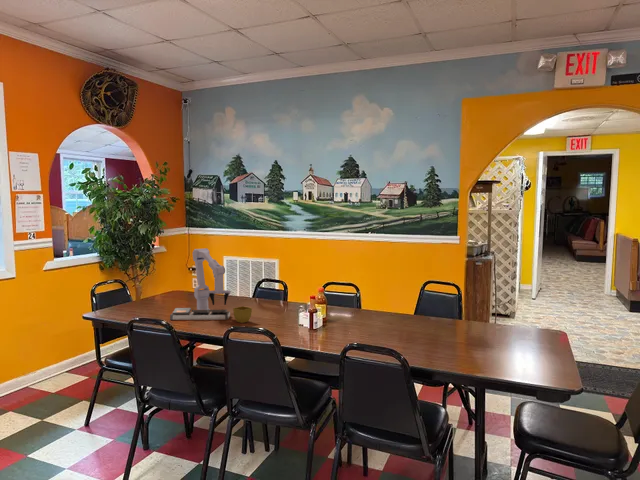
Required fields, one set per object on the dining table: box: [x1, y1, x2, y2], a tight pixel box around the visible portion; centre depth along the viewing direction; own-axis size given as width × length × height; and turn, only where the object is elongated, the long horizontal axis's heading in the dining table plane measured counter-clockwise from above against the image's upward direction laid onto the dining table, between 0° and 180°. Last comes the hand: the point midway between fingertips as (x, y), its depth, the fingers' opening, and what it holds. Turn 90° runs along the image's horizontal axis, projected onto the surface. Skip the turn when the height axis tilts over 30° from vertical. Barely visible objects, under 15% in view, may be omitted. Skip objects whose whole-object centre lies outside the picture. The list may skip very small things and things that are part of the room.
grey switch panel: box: [169, 310, 231, 321], centre depth 295 cm, size 9×37×3 cm, turn 92°
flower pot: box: [232, 305, 253, 324], centre depth 285 cm, size 9×9×9 cm
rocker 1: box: [191, 309, 210, 313], centre depth 295 cm, size 7×10×2 cm
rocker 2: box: [209, 309, 228, 312], centre depth 296 cm, size 7×10×2 cm
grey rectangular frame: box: [172, 307, 192, 314], centre depth 295 cm, size 7×10×2 cm
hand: (219, 304), depth 297 cm, fingers open, 7 cm apart
